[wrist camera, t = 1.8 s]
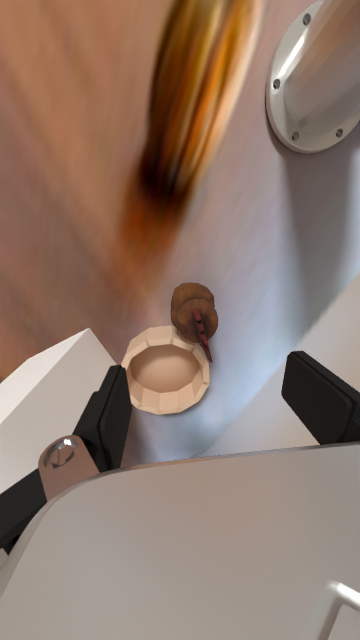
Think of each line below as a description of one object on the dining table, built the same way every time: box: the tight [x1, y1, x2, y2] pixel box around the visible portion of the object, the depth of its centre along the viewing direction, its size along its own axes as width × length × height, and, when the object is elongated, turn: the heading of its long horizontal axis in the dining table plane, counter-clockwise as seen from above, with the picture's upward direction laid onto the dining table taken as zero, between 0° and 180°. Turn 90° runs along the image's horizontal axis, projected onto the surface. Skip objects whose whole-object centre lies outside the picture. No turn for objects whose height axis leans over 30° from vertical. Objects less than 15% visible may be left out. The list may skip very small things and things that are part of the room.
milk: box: [0, 328, 116, 494], centre depth 22 cm, size 12×12×26 cm
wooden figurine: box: [171, 283, 218, 362], centre depth 24 cm, size 7×6×15 cm
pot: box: [121, 325, 210, 415], centre depth 32 cm, size 14×14×5 cm
